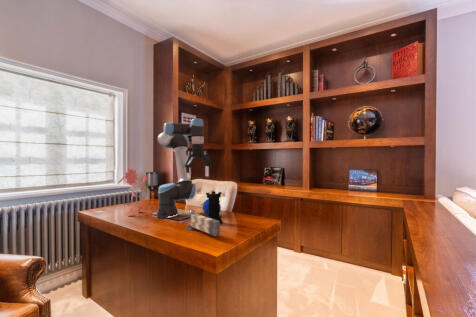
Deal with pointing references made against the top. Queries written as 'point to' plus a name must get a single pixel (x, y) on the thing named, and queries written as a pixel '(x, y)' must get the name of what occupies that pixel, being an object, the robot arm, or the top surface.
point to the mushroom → (206, 207)
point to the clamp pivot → (191, 221)
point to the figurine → (131, 178)
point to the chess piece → (214, 205)
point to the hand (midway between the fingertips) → (198, 177)
